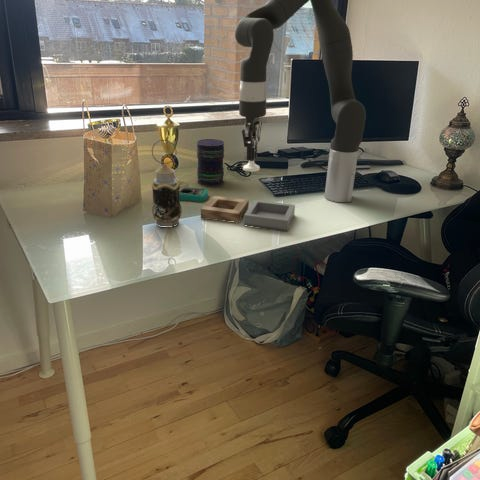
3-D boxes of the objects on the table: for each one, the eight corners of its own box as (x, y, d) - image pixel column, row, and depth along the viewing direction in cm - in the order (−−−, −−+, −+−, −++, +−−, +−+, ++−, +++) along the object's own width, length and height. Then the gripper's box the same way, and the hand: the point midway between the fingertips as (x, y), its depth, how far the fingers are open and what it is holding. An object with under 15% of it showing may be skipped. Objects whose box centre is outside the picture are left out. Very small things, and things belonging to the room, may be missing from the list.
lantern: (151, 229, 132) (145, 143, 121) (153, 218, 139) (148, 136, 129) (181, 228, 133) (179, 143, 122) (182, 217, 140) (180, 136, 129)
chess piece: (254, 172, 133) (254, 138, 128) (239, 169, 135) (240, 135, 131) (262, 168, 137) (263, 134, 132) (248, 165, 139) (249, 132, 134)
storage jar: (195, 178, 174) (194, 139, 168) (220, 177, 176) (221, 138, 170) (199, 187, 166) (199, 146, 159) (226, 185, 168) (226, 145, 161)
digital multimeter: (205, 203, 153) (205, 195, 151) (161, 200, 154) (161, 191, 153) (209, 195, 159) (209, 187, 158) (167, 192, 161) (167, 184, 160)
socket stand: (248, 208, 148) (248, 200, 147) (238, 223, 138) (238, 213, 136) (213, 204, 151) (213, 195, 150) (200, 217, 141) (200, 208, 139)
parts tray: (294, 215, 144) (295, 204, 143) (286, 231, 133) (287, 220, 132) (254, 210, 147) (254, 199, 146) (243, 225, 136) (244, 215, 135)
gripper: (260, 103, 120) (258, 167, 128) (271, 95, 132) (269, 154, 140) (232, 101, 122) (232, 164, 129) (246, 93, 134) (245, 152, 141)
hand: (251, 158), depth 134 cm, fingers closed on chess piece
